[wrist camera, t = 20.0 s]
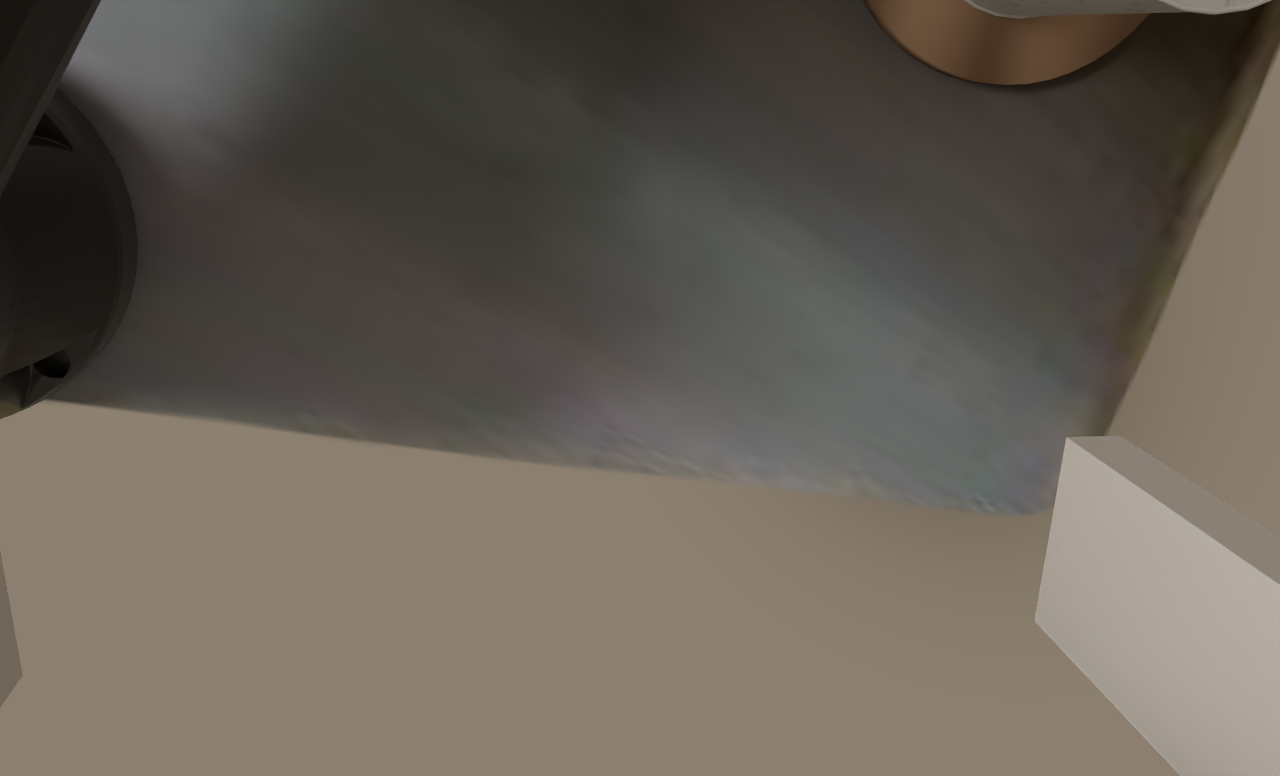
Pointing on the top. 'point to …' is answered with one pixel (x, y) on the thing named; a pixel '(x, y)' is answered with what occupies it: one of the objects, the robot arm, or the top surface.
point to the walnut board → (998, 39)
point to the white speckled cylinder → (1107, 7)
